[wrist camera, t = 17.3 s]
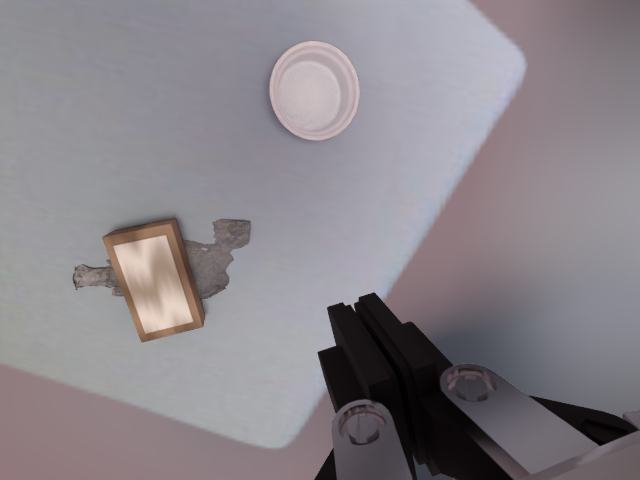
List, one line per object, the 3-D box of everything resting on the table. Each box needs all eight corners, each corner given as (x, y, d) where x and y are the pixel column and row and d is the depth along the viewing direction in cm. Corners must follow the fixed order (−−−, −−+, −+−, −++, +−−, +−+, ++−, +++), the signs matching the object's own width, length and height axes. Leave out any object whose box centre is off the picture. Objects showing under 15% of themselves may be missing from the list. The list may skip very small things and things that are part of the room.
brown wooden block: (175, 218, 37) (111, 231, 36) (170, 223, 34) (101, 238, 33) (205, 316, 40) (147, 331, 39) (202, 327, 38) (141, 343, 37)
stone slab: (250, 217, 38) (246, 301, 40) (250, 215, 40) (247, 296, 42) (67, 207, 35) (73, 300, 36) (76, 205, 36) (81, 294, 38)
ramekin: (347, 52, 36) (360, 41, 32) (348, 139, 39) (360, 138, 35) (263, 51, 35) (265, 39, 31) (270, 142, 37) (273, 142, 33)
